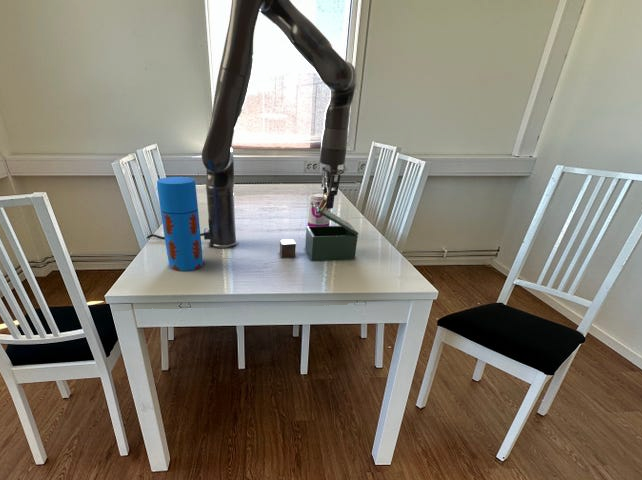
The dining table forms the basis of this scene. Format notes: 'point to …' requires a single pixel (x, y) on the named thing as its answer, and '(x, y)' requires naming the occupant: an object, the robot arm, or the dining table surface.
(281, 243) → the walnut block
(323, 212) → the tin lid
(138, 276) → the dining table surface
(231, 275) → the dining table surface
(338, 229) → the tea tin
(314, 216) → the supplement can
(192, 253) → the thermos
